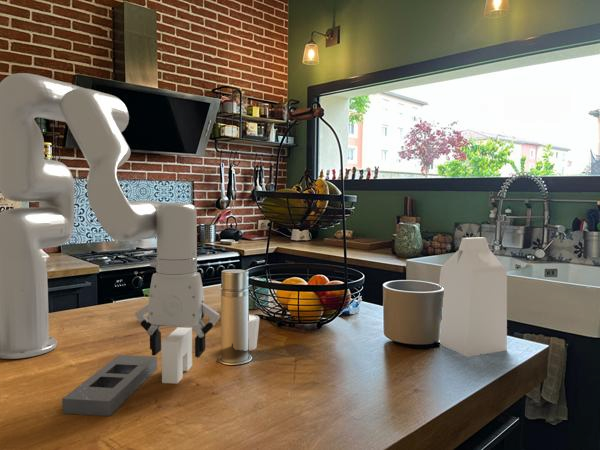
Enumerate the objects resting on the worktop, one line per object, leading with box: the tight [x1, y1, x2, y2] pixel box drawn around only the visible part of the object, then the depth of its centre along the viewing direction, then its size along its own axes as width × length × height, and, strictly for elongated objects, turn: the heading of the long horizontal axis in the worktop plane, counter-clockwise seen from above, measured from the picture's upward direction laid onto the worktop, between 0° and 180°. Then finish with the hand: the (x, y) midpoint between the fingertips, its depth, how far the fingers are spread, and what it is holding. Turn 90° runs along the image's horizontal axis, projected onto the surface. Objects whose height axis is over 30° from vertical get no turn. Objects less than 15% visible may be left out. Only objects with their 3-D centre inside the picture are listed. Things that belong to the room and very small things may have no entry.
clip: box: [161, 327, 193, 385], centre depth 94 cm, size 3×9×8 cm, turn 175°
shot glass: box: [248, 313, 260, 352], centre depth 110 cm, size 7×7×7 cm
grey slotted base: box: [61, 354, 158, 417], centre depth 87 cm, size 8×20×2 cm, turn 175°
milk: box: [438, 236, 508, 358], centre depth 113 cm, size 12×12×26 cm
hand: (177, 353), depth 94 cm, fingers open, 8 cm apart
